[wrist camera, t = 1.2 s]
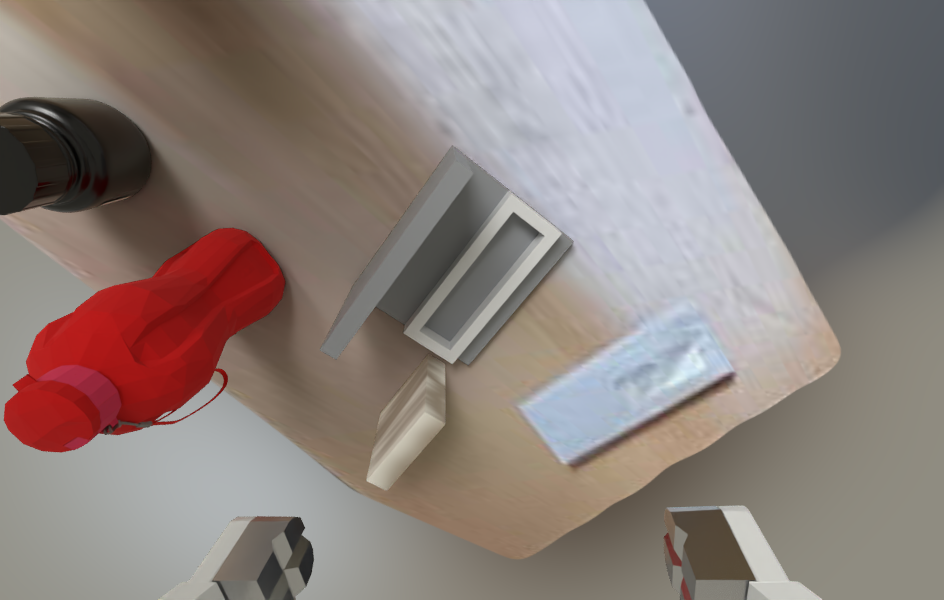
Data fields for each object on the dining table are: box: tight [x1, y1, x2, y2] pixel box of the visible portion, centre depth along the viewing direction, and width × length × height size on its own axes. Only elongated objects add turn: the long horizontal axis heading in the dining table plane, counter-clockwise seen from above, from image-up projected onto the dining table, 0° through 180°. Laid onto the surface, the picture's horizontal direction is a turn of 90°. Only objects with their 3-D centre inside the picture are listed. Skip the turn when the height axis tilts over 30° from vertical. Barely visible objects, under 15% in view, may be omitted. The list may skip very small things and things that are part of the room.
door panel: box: [366, 354, 446, 491], centre depth 49 cm, size 3×10×11 cm, turn 143°
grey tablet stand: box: [320, 145, 574, 365], centre depth 42 cm, size 16×18×14 cm
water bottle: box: [4, 228, 285, 452], centre depth 36 cm, size 9×11×25 cm
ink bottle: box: [0, 97, 151, 215], centre depth 37 cm, size 10×9×12 cm
